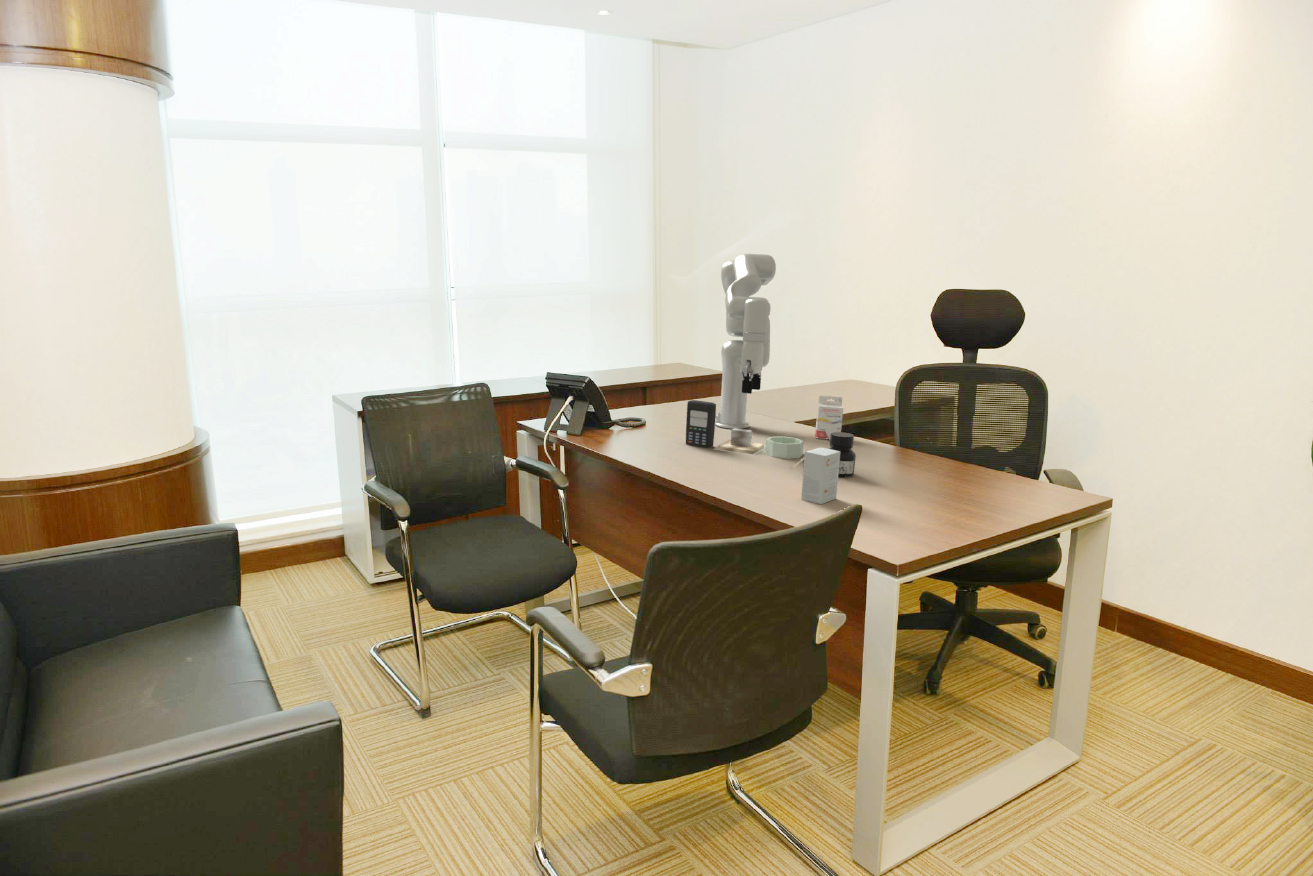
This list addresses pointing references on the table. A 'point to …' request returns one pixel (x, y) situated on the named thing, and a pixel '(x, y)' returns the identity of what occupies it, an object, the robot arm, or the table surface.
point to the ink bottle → (844, 452)
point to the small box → (820, 475)
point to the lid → (740, 442)
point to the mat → (743, 453)
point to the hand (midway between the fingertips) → (751, 391)
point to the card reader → (700, 423)
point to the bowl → (784, 447)
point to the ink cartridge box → (829, 416)
